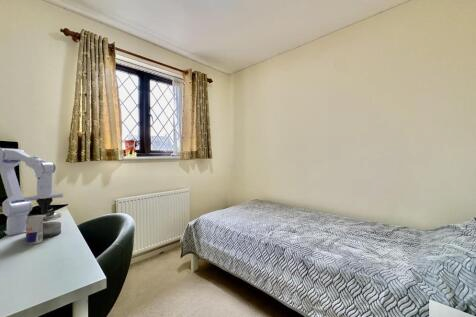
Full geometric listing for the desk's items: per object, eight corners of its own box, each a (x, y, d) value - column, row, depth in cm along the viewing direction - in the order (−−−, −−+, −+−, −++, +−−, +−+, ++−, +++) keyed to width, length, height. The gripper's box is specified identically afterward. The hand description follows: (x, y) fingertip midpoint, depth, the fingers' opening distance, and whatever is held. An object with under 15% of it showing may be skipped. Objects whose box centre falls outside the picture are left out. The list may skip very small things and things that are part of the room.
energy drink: (23, 244, 96) (24, 216, 96) (39, 240, 101) (39, 214, 101) (29, 246, 93) (29, 218, 94) (44, 242, 98) (45, 215, 98)
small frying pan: (21, 226, 106) (21, 224, 106) (55, 220, 117) (55, 218, 117) (33, 216, 96) (32, 214, 97) (69, 211, 108) (68, 208, 108)
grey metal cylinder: (22, 236, 105) (22, 226, 106) (55, 229, 116) (55, 220, 116) (30, 241, 98) (30, 230, 98) (65, 233, 109) (65, 224, 109)
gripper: (27, 188, 100) (27, 217, 100) (65, 185, 112) (65, 211, 112) (22, 187, 104) (22, 215, 103) (60, 184, 116) (59, 210, 116)
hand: (44, 213), depth 108 cm, fingers closed
